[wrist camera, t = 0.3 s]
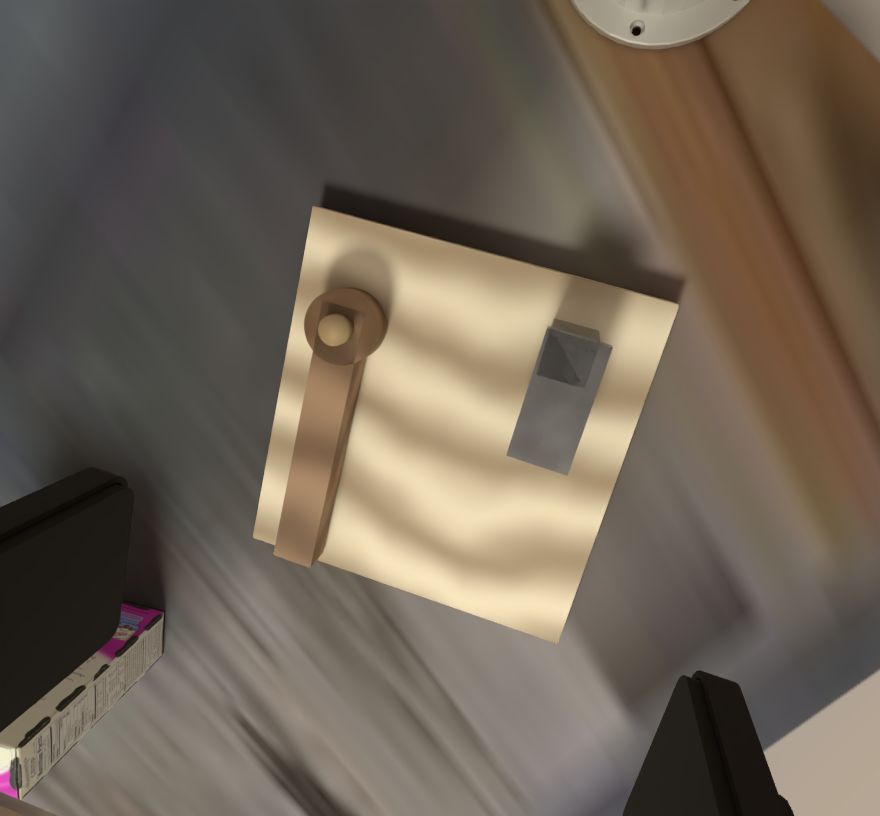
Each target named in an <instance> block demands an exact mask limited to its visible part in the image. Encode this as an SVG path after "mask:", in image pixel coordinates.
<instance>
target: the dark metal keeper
mask: <svg viewBox="0 0 880 816" xmlns="http://www.w3.org/2000/svg"><path fill="white" fill-rule="evenodd" d="M612 349H613V346H612V345H610V344H606V343H603V342H600V334H599V331H598V330H594V329H591V328H587V327H584V326H580V325H577V324H573V323H569V322H566V321H562V320H559V319H555V318H554V320H553V322H552V325H551V327H550V326H548V327H547V329H546V332H545V336H544V339H543V342H542V345H541V348H540V351H539V354H538V357H537V361H536V364H535V367H534V370H533V373H532V376H531V379H530V382H529V385H528V389H527V392H526V395H525V398H524V401H523V404H522V407H521V410H520V414H519V417H518V420H517V423H516V426H515V429H514V432H513V435H512V438H511V442H510V445H509V448H508V451H507V454H506V456H509V457H512V458H515V459H518V460H521V461H524V462H527V463H530V464H533V465H536V466H539V467H542V468H545V469H548V470H551V471H554V472H557V473H560V474H563V475H566V476H568V473H569V470H570V468H571V465H572V462H573V459H574V456H575V453H576V451H577V448H578V445H579V442H580V439H581V437H582V434H583V431H584V428H585V425H586V423H587V420H588V417H589V414H590V411H591V408H592V406H593V403H594V400H595V397H596V394H597V392H598V389H599V386H600V383H601V380H602V377H603V375H604V372H605V369H606V366H607V363H608V361H609V358H610V355H611V352H612Z"/></svg>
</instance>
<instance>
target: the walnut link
mask: <svg viewBox="0 0 880 816" xmlns="http://www.w3.org/2000/svg"><path fill="white" fill-rule="evenodd" d="M304 332H305V336H306V339H307V342H308V344H309V346H310V347H311V349H312V350H313V353H312V358H311V363H310V368H309V373H308V378H307V384H306V389H305V394H304V399H303V404H302V409H301V415H300V420H299V425H298V430H297V435H296V440H295V446H294V451H293V456H292V461H291V466H290V471H289V476H288V482H287V487H286V492H285V497H284V502H283V507H282V513H281V518H280V523H279V528H278V533H277V538H276V543H275V549H274V554H273V555H275V556H278V557H281V558H284V559H287V560H289V561H292V562H295V563H298V564H301V565H304V566H306V567H309V568H311V566H312V565H313V564H314V563H315V562H316V560H317V559H318V558H319V557H320V556H321V554H322V553H323V551H324V546H325V542H326V537H327V533H328V528H329V524H330V519H331V515H332V510H333V506H334V501H335V496H336V492H337V487H338V483H339V478H340V474H341V469H342V465H343V460H344V455H345V451H346V446H347V442H348V437H349V433H350V428H351V424H352V419H353V415H354V410H355V405H356V401H357V396H358V392H359V387H360V383H361V378H362V374H363V369H364V364H365V360H366V357H367V356H369V355H371V354H372V353H374V352H375V351H376V350H377V349H378V348H379V347H380V345H381V344H382V342H383V340H384V337H385V334H386V317H385V313H384V311H383V309H382V307H381V305H380V303H379V302H378V301H377V300H376V298H374V297H373V296H372V295H371V294H369V293H368V292H366V291H364V290H362V289H358V288H351V287H350V288H342V289H337V290H332V291H328V292H325V293H323V294H321V295H319V296H318V297H317V298H315V299H314V300H313V301H312V303H311V304H310V306H309V307H308V309H307V312H306V315H305V319H304Z"/></svg>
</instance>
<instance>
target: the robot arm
mask: <svg viewBox="0 0 880 816" xmlns="http://www.w3.org/2000/svg"><path fill="white" fill-rule="evenodd" d="M570 1H571V3H572V5H573V6H574V7H575V9H576V10H577V11H578V13H579V14H580V15H581V17H582V18H583V19H584V21H586V22H587V23H588V24H589V25H590V26H591V27H593V28H594V29H595V30H596V31H597V32H598V33H600V34H601V35H603V36H605V37H607V38H609V39H611V40H613V41H615V42H616V43H619V44H623V45H627V46H630V47H634V48H640V49H664V48H671V47H678V46H681V45H684V44H687V43H690V42H693V41H696V40H699V39H701V38H703V37H704V36H706V35H708V34H710V33H712V32H713V31H715V30H717V29H719V28H720V27H722V26H723V25H724V24H725V23H727V22H728V21H729V20H730V19H732V18H733V17H734V16H735V15H737V14H738V13H739V12H740V11H741V10H742V9H743V8H744V7H745V5H746V4H747V3H748V2H749V1H750V0H737V1H733V0H570ZM635 28H638V29H640V31H641V33H640V35H638V36H634V35H633V34H632V31H633V29H635ZM133 501H134V494H133V491H132V490H131V489H130V488H128V484H127V481H126V479H124V478H123V477H121V476H118V475H115V474H112V473H109V472H106V471H103V470H100V469H97V468H92V467H91V468H87V469H84V470H82V471H80V472H78V473H76V474H73V475H71V476H69V477H67V478H64V479H62V480H60V481H58V482H56V483H53V484H51V485H49V486H47V487H44V488H42V489H40V490H38V491H36V492H33V493H31V494H29V495H27V496H24V497H22V498H20V499H18V500H16V501H13V502H11V503H9V504H7V505H4V506H2V507H0V733H1V732H2V731H3V730H4V729H5V728H7V727H8V726H9V725H10V724H11V723H13V722H14V721H15V720H16V719H17V718H19V717H20V716H21V715H22V714H23V713H24V712H26V711H27V710H28V709H29V708H30V707H32V706H33V705H34V704H35V703H36V702H38V701H39V700H40V699H41V698H42V697H44V696H45V695H46V694H47V693H48V692H50V691H51V690H52V689H53V688H54V687H56V686H57V685H58V684H59V683H60V682H62V681H63V680H64V679H65V678H66V677H67V676H69V675H70V674H71V673H72V672H73V671H75V670H76V669H77V668H78V667H79V666H81V665H82V664H83V663H84V662H85V661H87V660H88V659H89V658H90V657H91V656H93V655H94V654H95V653H96V652H97V651H99V650H100V649H101V648H102V647H103V646H105V645H106V644H107V643H108V642H109V641H110V640H111V638H112V637H113V636H114V634H115V632H116V631H117V628H118V626H119V622H120V616H121V607H122V598H123V590H124V581H125V572H126V563H127V554H128V545H129V536H130V527H131V518H132V510H133ZM0 816H58V815H55V814H53V813H50V812H48V811H45V810H43V809H41V808H38V807H36V806H33V805H31V804H29V803H26V802H24V801H21V800H19V799H17V798H14V797H12V796H9V795H7V794H4V793H2V792H0ZM623 816H794V814H793V811H792V810H791V807H790V805H789V804H788V801H787V800H786V799H784V798H783V797H782V796H781V795H778V792H777V789H776V787H775V783H774V781H773V778H772V775H771V772H770V769H769V767H768V764H767V761H766V758H765V755H764V753H763V750H762V747H761V744H760V741H759V739H758V736H757V733H756V730H755V727H754V725H753V722H752V719H751V716H750V713H749V711H748V708H747V705H746V702H745V699H744V697H743V694H742V691H741V688H740V686H739V685H738V684H737V683H735V682H733V681H730V680H727V679H724V678H721V677H718V676H715V675H712V674H709V673H706V672H703V671H700V670H699V671H696V672H695V673H694V674H693V676H692V678H690V677H687V676H684V675H683V676H681V677H680V678H679V680H678V682H677V684H676V686H675V689H674V691H673V693H672V696H671V698H670V701H669V703H668V705H667V708H666V710H665V713H664V715H663V717H662V720H661V722H660V725H659V727H658V729H657V732H656V734H655V737H654V739H653V741H652V744H651V746H650V749H649V751H648V753H647V756H646V758H645V761H644V763H643V765H642V768H641V770H640V773H639V775H638V777H637V780H636V782H635V785H634V787H633V789H632V792H631V794H630V797H629V799H628V802H627V804H626V806H625V809H624V812H623Z"/></svg>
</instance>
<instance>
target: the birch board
mask: <svg viewBox="0 0 880 816" xmlns="http://www.w3.org/2000/svg"><path fill="white" fill-rule="evenodd" d="M350 287H351V288H358V289H362V290H364V291H366V292H368V293H369V294H371V295H372V296H373V297H374V298H376V300H377V301H378V302H379V303H380V305H381V307H382V309H383V311H384V313H385V317H386V334H385V337H384V340H383V342H382V344H381V345H380V347H379V348H378V349H377V350H376V351H375V352H374V353H372V354H371V355H369V356H367V357H366V360H365V364H364V369H363V374H362V378H361V383H360V387H359V392H358V396H357V401H356V405H355V410H354V415H353V419H352V424H351V428H350V433H349V437H348V442H347V446H346V451H345V455H344V460H343V465H342V469H341V474H340V478H339V483H338V487H337V492H336V496H335V501H334V506H333V510H332V515H331V519H330V524H329V528H328V533H327V537H326V542H325V546H324V551H323V553H322V554H321V556H320V557H319V558H318V559H317V560H319V561H322V562H325V563H327V564H330V565H333V566H336V567H339V568H342V569H345V570H347V571H350V572H353V573H356V574H359V575H362V576H365V577H367V578H370V579H373V580H376V581H379V582H382V583H385V584H388V585H390V586H393V587H396V588H399V589H402V590H405V591H408V592H410V593H413V594H416V595H419V596H422V597H425V598H428V599H430V600H433V601H436V602H439V603H442V604H445V605H448V606H451V607H453V608H456V609H459V610H462V611H465V612H468V613H471V614H473V615H476V616H479V617H482V618H485V619H488V620H491V621H493V622H496V623H499V624H502V625H505V626H508V627H511V628H513V629H516V630H519V631H522V632H525V633H528V634H531V635H534V636H536V637H539V638H542V639H545V640H548V641H551V642H554V643H556V644H558V641H559V638H560V636H561V633H562V630H563V627H564V624H565V622H566V619H567V616H568V613H569V611H570V608H571V605H572V602H573V599H574V597H575V594H576V591H577V588H578V585H579V583H580V580H581V577H582V574H583V572H584V569H585V566H586V563H587V560H588V558H589V555H590V552H591V549H592V547H593V544H594V541H595V538H596V535H597V533H598V530H599V527H600V524H601V522H602V519H603V516H604V513H605V510H606V508H607V505H608V502H609V499H610V497H611V494H612V491H613V488H614V485H615V483H616V480H617V477H618V474H619V472H620V469H621V466H622V463H623V460H624V458H625V455H626V452H627V449H628V446H629V444H630V441H631V438H632V435H633V433H634V430H635V427H636V424H637V421H638V419H639V416H640V413H641V410H642V408H643V405H644V402H645V399H646V396H647V394H648V391H649V388H650V385H651V383H652V380H653V377H654V374H655V371H656V369H657V366H658V363H659V360H660V358H661V355H662V352H663V349H664V346H665V344H666V341H667V338H668V335H669V333H670V330H671V327H672V324H673V321H674V319H675V316H676V313H677V310H678V307H679V304H677V303H675V302H672V301H668V300H664V299H661V298H657V297H653V296H649V295H646V294H642V293H638V292H635V291H631V290H627V289H623V288H620V287H616V286H612V285H609V284H605V283H601V282H597V281H594V280H590V279H586V278H583V277H579V276H575V275H571V274H568V273H564V272H560V271H557V270H553V269H549V268H545V267H542V266H538V265H534V264H531V263H527V262H523V261H519V260H516V259H512V258H508V257H505V256H501V255H497V254H494V253H490V252H486V251H482V250H479V249H475V248H471V247H468V246H464V245H460V244H456V243H453V242H449V241H445V240H442V239H438V238H434V237H430V236H427V235H423V234H419V233H416V232H412V231H408V230H404V229H401V228H397V227H393V226H390V225H386V224H382V223H378V222H375V221H371V220H367V219H364V218H360V217H356V216H352V215H349V214H345V213H341V212H338V211H334V210H330V209H326V208H323V207H316V206H313V208H312V214H311V219H310V225H309V230H308V236H307V241H306V247H305V252H304V258H303V263H302V269H301V274H300V280H299V286H298V291H297V297H296V302H295V308H294V313H293V319H292V324H291V330H290V335H289V341H288V346H287V352H286V357H285V363H284V368H283V374H282V379H281V385H280V390H279V396H278V401H277V407H276V412H275V418H274V423H273V429H272V434H271V440H270V445H269V451H268V456H267V462H266V467H265V473H264V478H263V484H262V489H261V495H260V500H259V506H258V511H257V517H256V522H255V528H254V533H253V538H256V539H259V540H262V541H264V542H267V543H270V544H273V545H275V543H276V538H277V533H278V528H279V523H280V518H281V513H282V507H283V502H284V497H285V492H286V487H287V482H288V476H289V471H290V466H291V461H292V456H293V451H294V446H295V440H296V435H297V430H298V425H299V420H300V415H301V409H302V404H303V399H304V394H305V389H306V384H307V378H308V373H309V368H310V363H311V358H312V353H313V350H312V349H311V347H310V346H309V344H308V342H307V339H306V336H305V332H304V319H305V315H306V312H307V309H308V307H309V306H310V304H311V303H312V301H313V300H314V299H315V298H317V297H318V296H319V295H321V294H323V293H325V292H328V291H332V290H337V289H342V288H350ZM554 318H555V319H559V320H562V321H566V322H569V323H573V324H577V325H580V326H584V327H587V328H591V329H594V330H598V331H599V334H600V342H603V343H606V344H610V345H612V346H613V349H612V352H611V355H610V358H609V361H608V363H607V366H606V369H605V372H604V375H603V377H602V380H601V383H600V386H599V389H598V392H597V394H596V397H595V400H594V403H593V406H592V408H591V411H590V414H589V417H588V420H587V423H586V425H585V428H584V431H583V434H582V437H581V439H580V442H579V445H578V448H577V451H576V453H575V456H574V459H573V462H572V465H571V468H570V470H569V473H568V476H566V475H563V474H560V473H557V472H554V471H551V470H548V469H545V468H542V467H539V466H536V465H533V464H530V463H527V462H524V461H521V460H518V459H515V458H512V457H509V456H506V454H507V451H508V448H509V445H510V442H511V438H512V435H513V432H514V429H515V426H516V423H517V420H518V417H519V414H520V410H521V407H522V404H523V401H524V398H525V395H526V392H527V389H528V385H529V382H530V379H531V376H532V373H533V370H534V367H535V364H536V361H537V357H538V354H539V351H540V348H541V345H542V342H543V339H544V336H545V332H546V329H547V327H548V326H550V327H551V325H552V322H553V320H554Z"/></svg>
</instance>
